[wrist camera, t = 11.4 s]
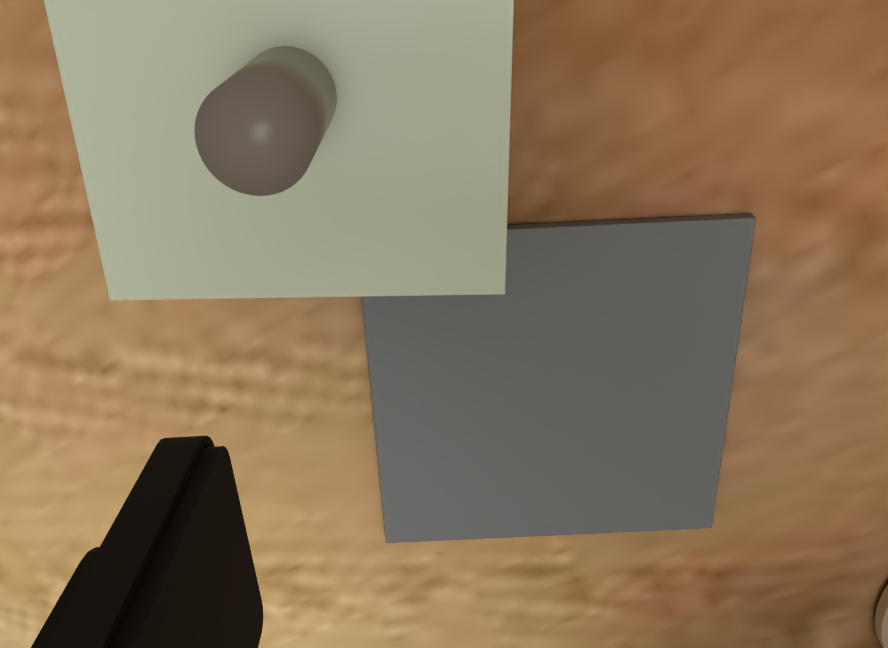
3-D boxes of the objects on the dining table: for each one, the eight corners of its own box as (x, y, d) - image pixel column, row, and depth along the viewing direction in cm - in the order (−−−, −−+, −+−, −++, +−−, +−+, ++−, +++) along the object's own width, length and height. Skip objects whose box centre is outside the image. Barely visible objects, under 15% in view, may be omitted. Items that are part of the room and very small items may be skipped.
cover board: (503, 285, 31) (522, 373, 25) (117, 291, 31) (41, 382, 25) (515, -164, 24) (545, -194, 18) (20, -161, 24) (-118, -190, 18)
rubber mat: (708, 520, 44) (711, 528, 44) (386, 535, 44) (386, 542, 44) (751, 213, 36) (756, 217, 35) (356, 232, 36) (355, 236, 35)
